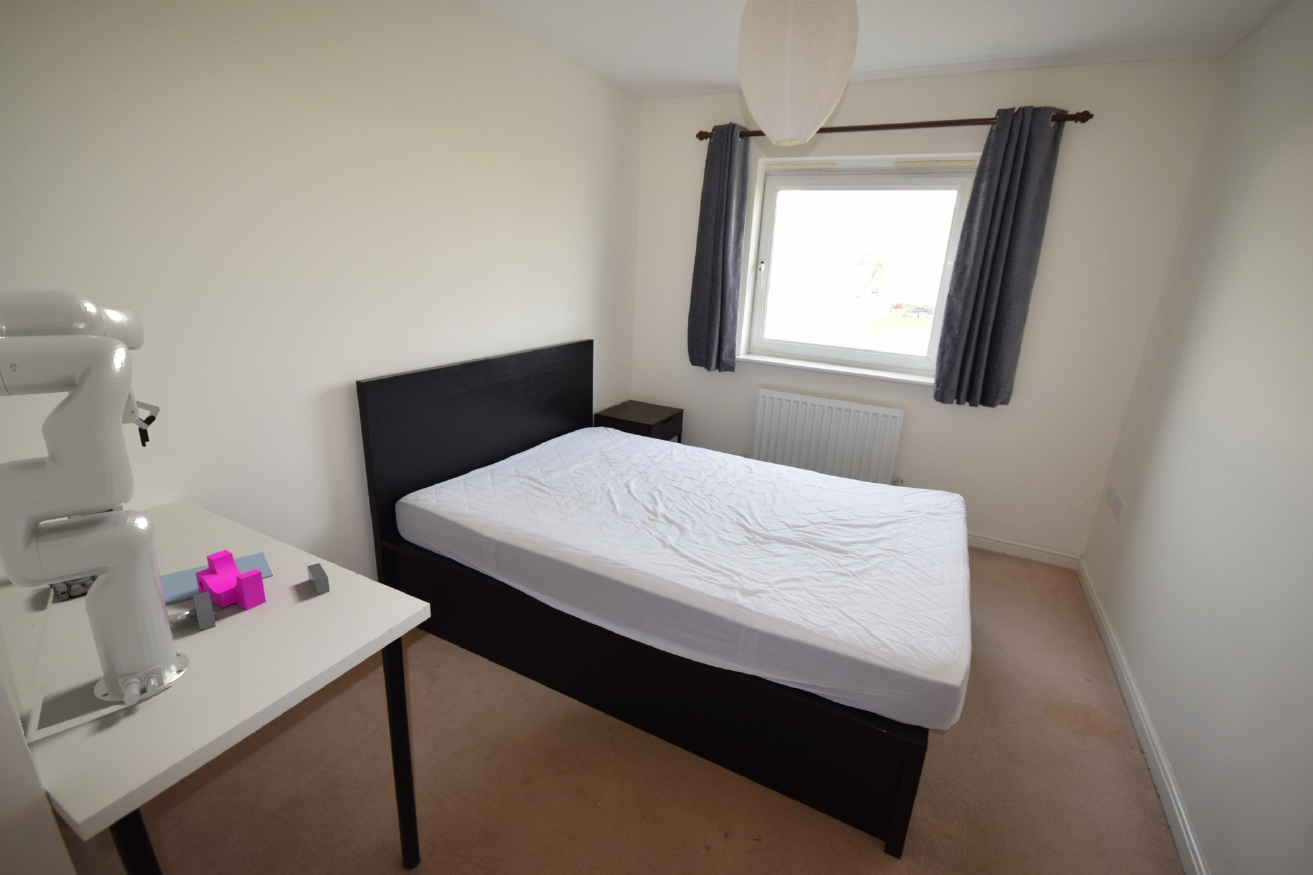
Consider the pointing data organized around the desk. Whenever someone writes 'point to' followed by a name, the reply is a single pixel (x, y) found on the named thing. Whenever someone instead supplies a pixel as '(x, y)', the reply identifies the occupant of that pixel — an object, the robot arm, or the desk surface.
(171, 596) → the rubber mat
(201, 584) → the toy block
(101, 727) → the desk surface
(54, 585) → the tank toy
